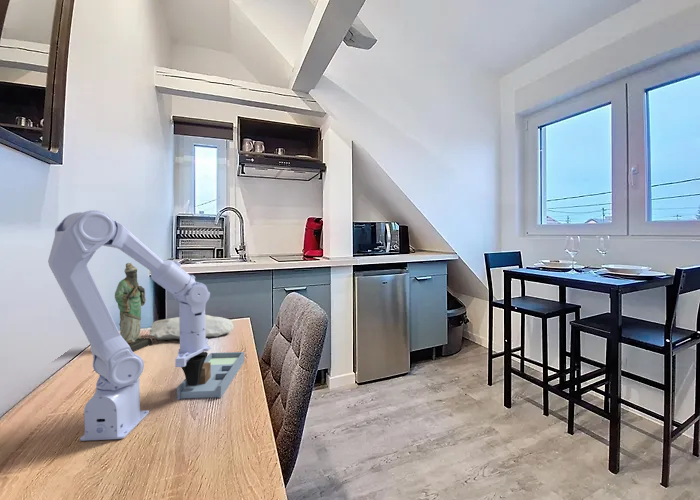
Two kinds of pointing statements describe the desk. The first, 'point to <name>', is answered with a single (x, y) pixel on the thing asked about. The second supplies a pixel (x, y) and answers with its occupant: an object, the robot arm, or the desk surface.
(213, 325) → the stone
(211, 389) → the box
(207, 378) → the block
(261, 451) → the desk surface
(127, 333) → the figurine
